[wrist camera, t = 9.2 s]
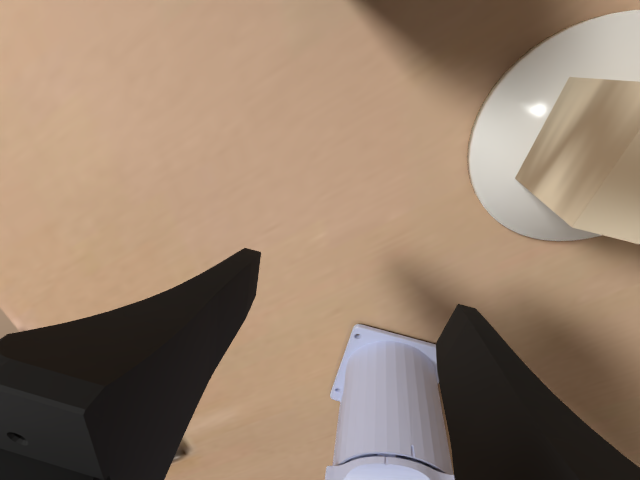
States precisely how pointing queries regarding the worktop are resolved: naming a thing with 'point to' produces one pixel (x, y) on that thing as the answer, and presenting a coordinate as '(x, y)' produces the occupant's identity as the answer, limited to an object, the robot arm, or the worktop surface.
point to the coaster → (542, 116)
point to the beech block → (590, 158)
